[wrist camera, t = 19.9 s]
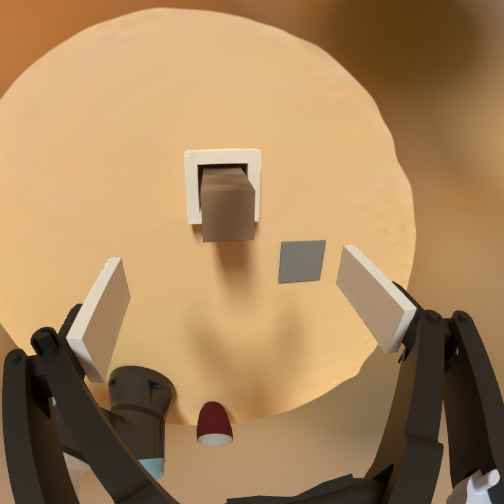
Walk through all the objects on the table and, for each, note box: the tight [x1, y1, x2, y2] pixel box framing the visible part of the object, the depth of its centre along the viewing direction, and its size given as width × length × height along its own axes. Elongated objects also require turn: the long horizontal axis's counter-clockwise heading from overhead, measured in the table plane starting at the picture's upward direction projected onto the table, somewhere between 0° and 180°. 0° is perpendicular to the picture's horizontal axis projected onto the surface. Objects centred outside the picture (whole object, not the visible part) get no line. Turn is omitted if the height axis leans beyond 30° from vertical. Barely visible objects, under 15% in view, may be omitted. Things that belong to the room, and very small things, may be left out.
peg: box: [200, 165, 255, 242], centre depth 29 cm, size 4×4×14 cm
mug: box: [197, 402, 233, 446], centre depth 54 cm, size 11×8×10 cm
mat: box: [278, 240, 326, 283], centre depth 42 cm, size 7×7×1 cm
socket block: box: [184, 149, 261, 224], centre depth 33 cm, size 9×9×3 cm
